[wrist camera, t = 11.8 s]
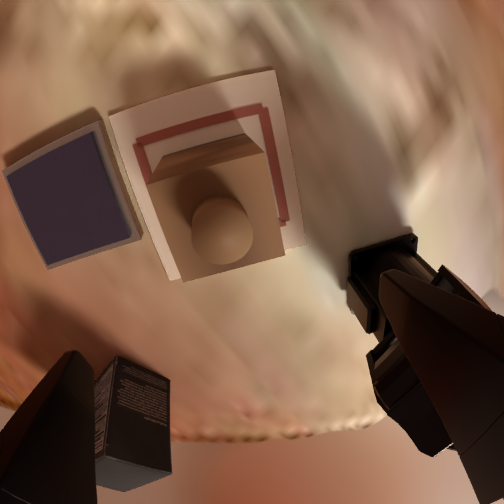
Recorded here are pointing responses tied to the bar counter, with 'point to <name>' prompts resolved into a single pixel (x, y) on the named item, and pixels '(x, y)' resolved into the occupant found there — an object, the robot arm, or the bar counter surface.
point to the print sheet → (207, 130)
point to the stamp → (216, 207)
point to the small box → (131, 426)
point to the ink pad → (73, 197)
